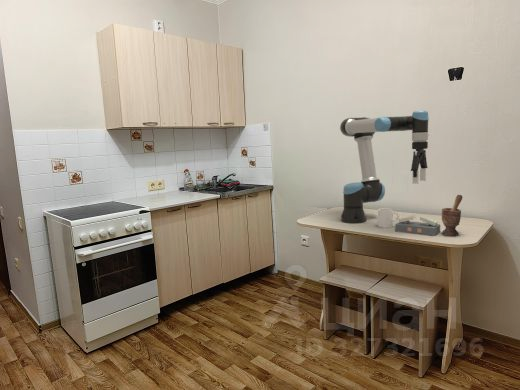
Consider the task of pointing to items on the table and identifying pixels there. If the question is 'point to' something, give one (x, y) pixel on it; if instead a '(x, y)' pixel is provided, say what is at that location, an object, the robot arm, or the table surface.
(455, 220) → the mortar and pestle
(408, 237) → the table surface
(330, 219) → the table surface
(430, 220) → the rocker
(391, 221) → the mug
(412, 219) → the rocker
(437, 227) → the switch unit
